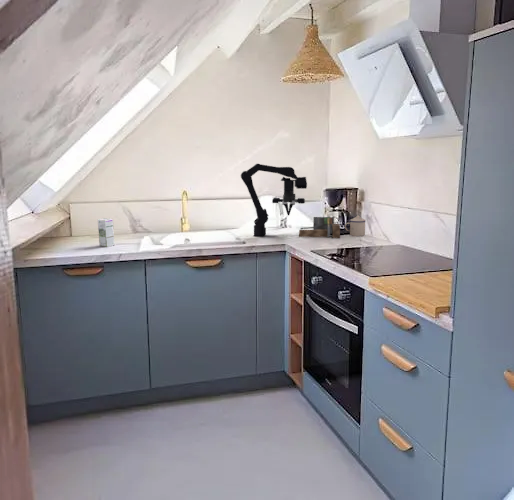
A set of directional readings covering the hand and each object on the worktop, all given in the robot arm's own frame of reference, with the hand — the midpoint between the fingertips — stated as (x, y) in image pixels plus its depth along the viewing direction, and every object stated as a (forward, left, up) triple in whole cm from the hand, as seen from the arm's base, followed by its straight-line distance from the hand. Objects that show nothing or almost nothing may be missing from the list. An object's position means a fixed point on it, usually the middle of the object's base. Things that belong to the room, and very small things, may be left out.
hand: (288, 215), depth 296 cm
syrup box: (-94, -43, -12) cm, 104 cm away
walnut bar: (+15, -3, -12) cm, 19 cm away
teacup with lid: (+39, +3, -12) cm, 41 cm away
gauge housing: (+22, -1, -12) cm, 25 cm away
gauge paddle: (+24, -1, -11) cm, 26 cm away
